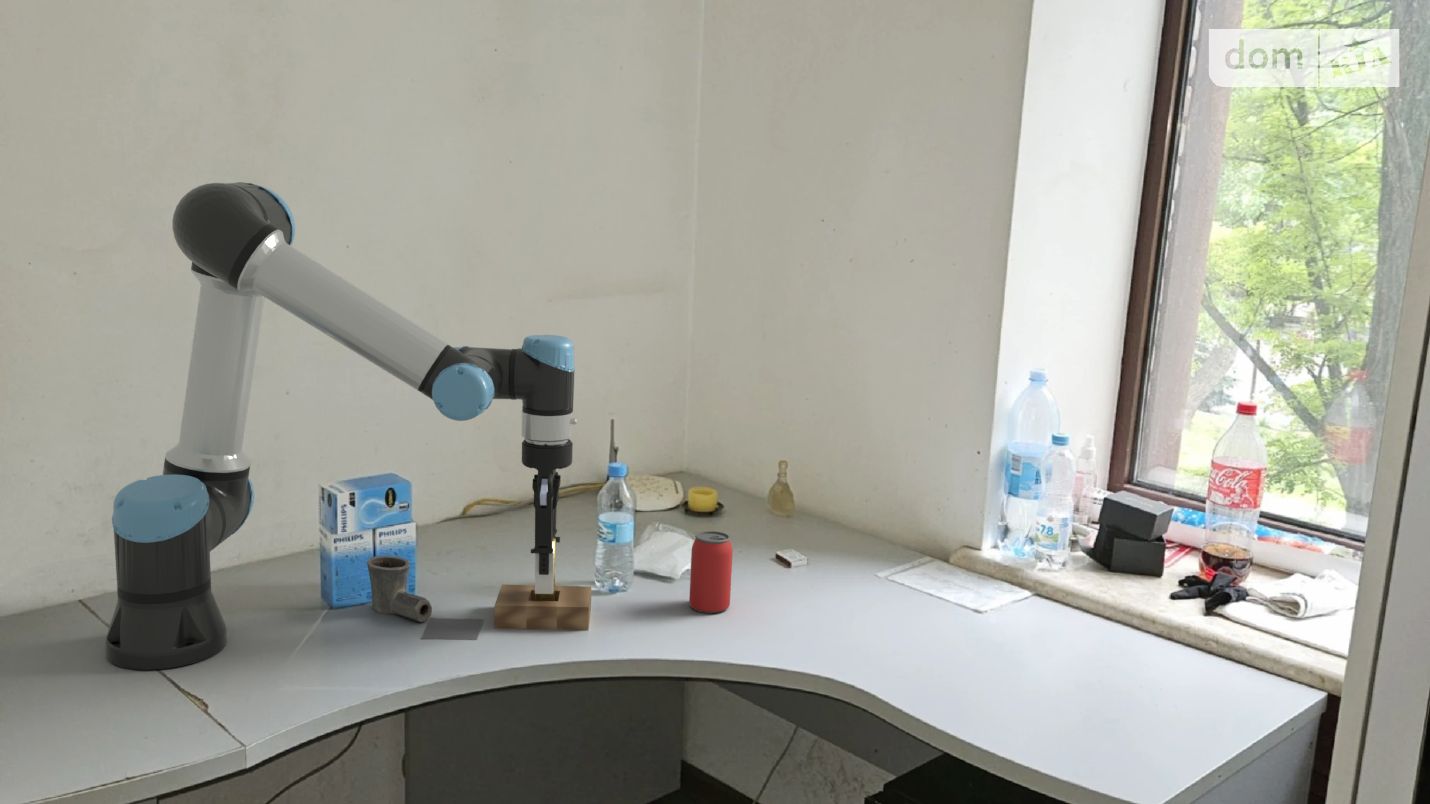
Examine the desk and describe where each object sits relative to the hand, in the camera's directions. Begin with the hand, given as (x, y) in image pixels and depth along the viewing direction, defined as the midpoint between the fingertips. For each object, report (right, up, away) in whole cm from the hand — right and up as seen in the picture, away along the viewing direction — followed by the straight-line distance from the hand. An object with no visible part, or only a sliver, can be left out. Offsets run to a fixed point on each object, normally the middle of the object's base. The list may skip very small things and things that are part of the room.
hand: (544, 588), depth 173 cm
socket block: (0, -5, +1) cm, 5 cm away
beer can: (+25, -5, +10) cm, 27 cm away
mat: (-13, -6, -5) cm, 15 cm away
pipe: (-22, -4, +1) cm, 23 cm away
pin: (0, -4, +1) cm, 4 cm away
